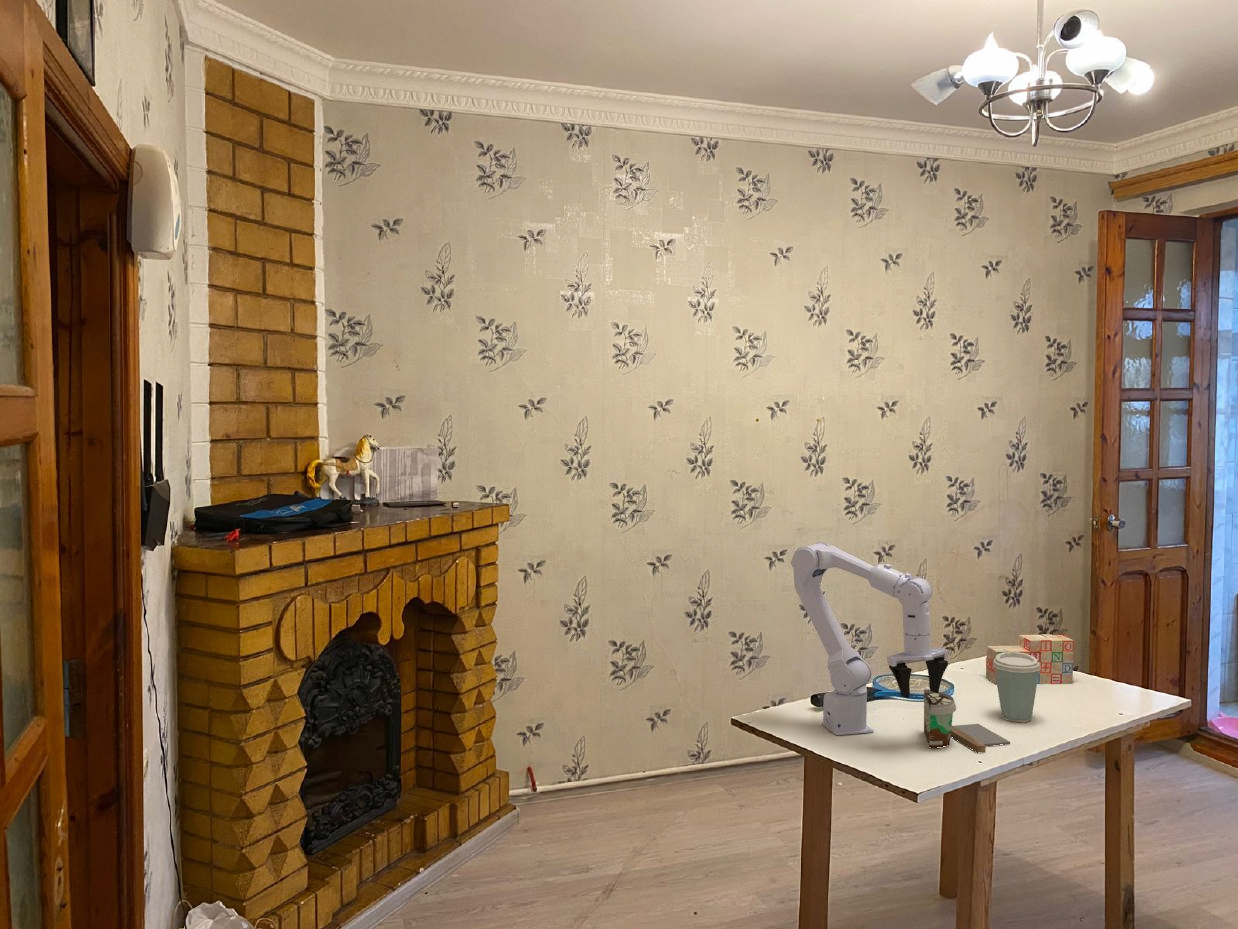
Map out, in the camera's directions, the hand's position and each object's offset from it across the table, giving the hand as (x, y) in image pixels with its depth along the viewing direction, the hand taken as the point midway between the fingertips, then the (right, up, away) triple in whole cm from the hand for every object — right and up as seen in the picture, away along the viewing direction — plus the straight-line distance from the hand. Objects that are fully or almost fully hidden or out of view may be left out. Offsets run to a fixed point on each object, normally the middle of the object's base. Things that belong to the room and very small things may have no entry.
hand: (919, 694), depth 202 cm
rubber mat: (+15, -11, +6) cm, 19 cm away
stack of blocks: (+46, -9, +48) cm, 67 cm away
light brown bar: (+10, -11, +4) cm, 16 cm away
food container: (+6, -11, +3) cm, 13 cm away
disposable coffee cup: (+29, -10, +18) cm, 35 cm away
